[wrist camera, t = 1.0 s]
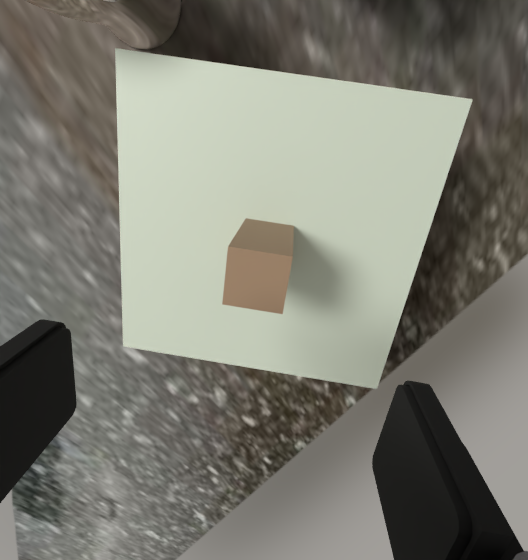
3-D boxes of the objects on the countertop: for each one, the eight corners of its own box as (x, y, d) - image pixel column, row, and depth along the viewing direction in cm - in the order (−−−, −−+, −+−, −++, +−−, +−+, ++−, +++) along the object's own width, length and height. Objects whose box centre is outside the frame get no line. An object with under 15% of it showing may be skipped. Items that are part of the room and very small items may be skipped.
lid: (125, 53, 20) (38, 10, 13) (462, 101, 19) (550, 82, 12) (130, 337, 27) (76, 402, 20) (373, 378, 26) (399, 459, 20)
